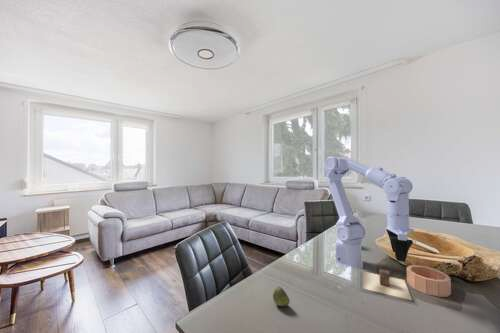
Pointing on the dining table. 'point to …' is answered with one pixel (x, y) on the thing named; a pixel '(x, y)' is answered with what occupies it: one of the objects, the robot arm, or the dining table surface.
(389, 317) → the dining table surface
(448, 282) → the bowl
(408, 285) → the mat
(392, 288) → the lid
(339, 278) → the dining table surface
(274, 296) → the lime
